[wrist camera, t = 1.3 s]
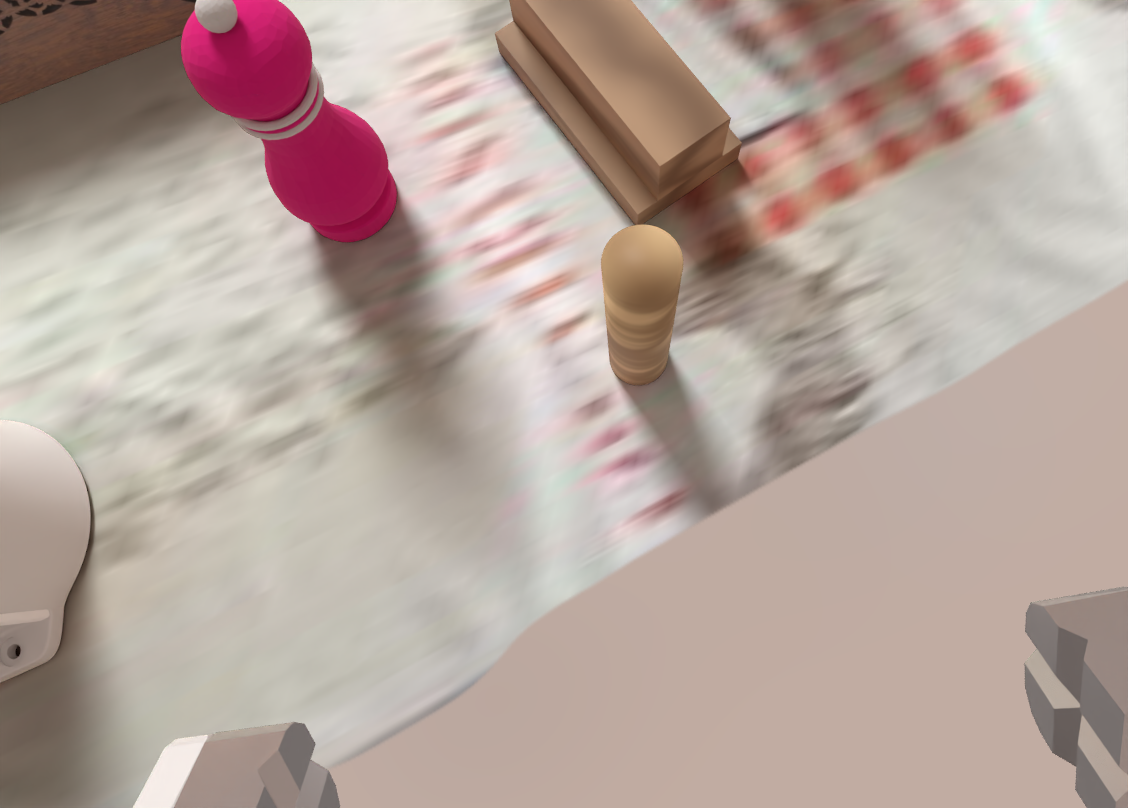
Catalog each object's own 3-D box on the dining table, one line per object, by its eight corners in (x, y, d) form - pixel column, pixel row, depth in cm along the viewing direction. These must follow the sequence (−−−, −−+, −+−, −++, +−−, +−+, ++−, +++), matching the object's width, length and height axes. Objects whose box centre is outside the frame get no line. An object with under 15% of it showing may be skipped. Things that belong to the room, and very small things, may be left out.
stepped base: (637, 227, 55) (638, 181, 49) (499, 51, 58) (483, -14, 52) (737, 158, 56) (751, 103, 49) (594, -12, 59) (590, -85, 53)
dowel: (631, 396, 53) (632, 317, 37) (598, 350, 54) (585, 254, 38) (679, 363, 53) (699, 270, 37) (644, 318, 54) (651, 209, 38)
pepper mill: (420, 164, 57) (311, -54, 38) (382, 262, 56) (250, 90, 36) (321, 138, 58) (165, -88, 39) (282, 233, 57) (101, 50, 37)
